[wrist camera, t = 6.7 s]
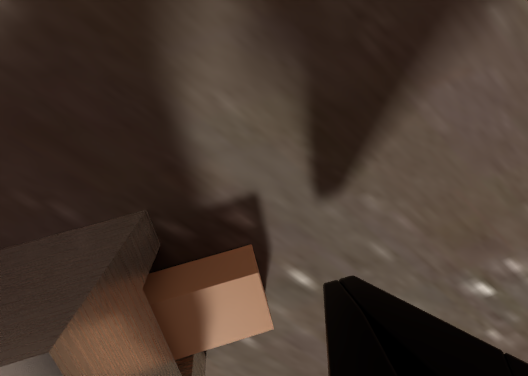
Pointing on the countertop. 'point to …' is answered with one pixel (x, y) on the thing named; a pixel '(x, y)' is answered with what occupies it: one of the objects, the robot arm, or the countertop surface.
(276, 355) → the countertop surface
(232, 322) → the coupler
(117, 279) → the grey cube with knob
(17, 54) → the countertop surface
